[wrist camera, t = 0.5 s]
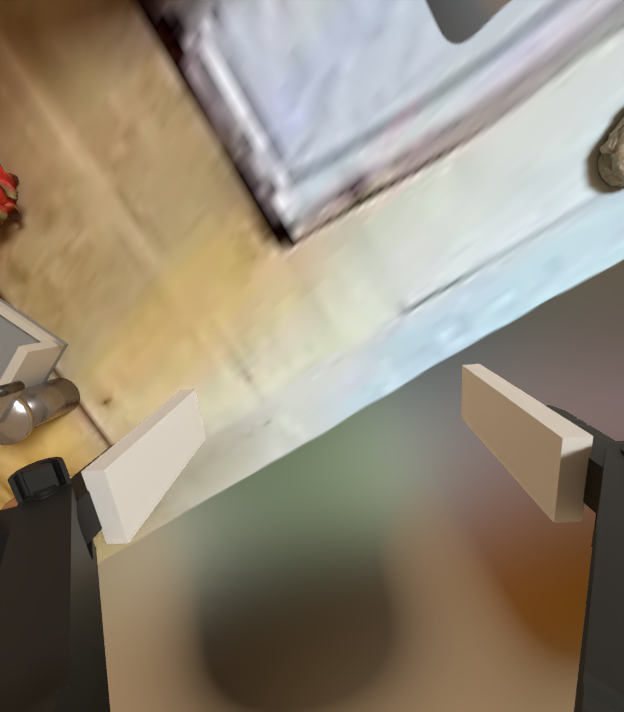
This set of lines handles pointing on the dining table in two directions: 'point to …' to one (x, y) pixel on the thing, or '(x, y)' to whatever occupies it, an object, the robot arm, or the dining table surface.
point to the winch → (33, 406)
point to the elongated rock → (613, 157)
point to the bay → (26, 348)
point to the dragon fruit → (8, 196)
